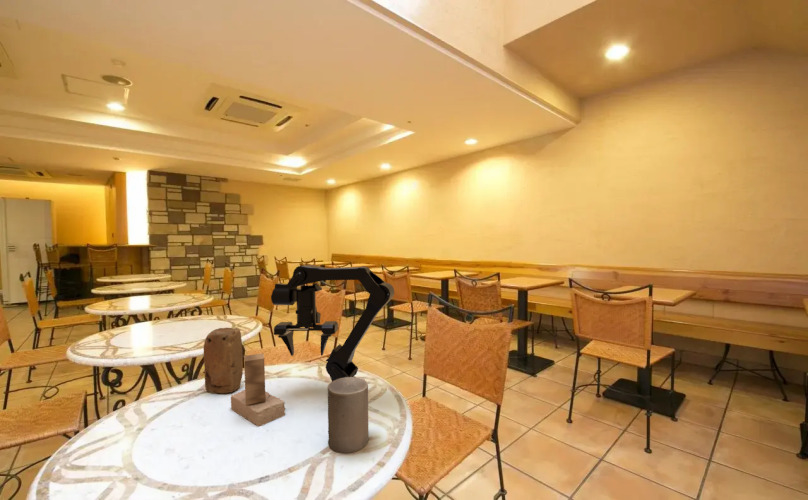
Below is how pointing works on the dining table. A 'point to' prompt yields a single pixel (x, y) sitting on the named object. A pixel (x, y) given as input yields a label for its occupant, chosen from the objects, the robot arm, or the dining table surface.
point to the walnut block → (254, 378)
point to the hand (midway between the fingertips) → (307, 355)
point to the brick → (258, 408)
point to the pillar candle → (348, 414)
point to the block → (223, 360)
